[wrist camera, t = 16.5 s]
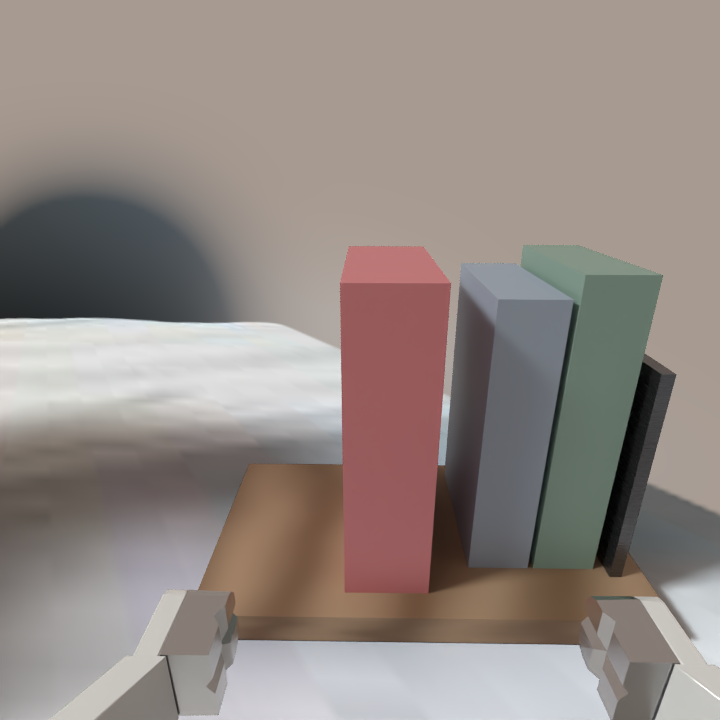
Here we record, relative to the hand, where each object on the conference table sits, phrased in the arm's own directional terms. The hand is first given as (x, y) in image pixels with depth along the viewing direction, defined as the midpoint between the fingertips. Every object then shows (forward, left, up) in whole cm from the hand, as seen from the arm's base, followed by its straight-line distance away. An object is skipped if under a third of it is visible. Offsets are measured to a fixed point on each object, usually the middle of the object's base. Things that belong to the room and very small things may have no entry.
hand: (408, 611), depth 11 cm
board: (-2, +13, -11) cm, 17 cm away
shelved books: (+3, +16, -9) cm, 19 cm away
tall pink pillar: (-4, +13, -9) cm, 16 cm away
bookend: (+6, +17, -9) cm, 21 cm away
